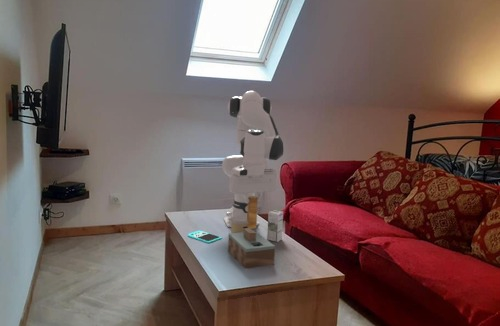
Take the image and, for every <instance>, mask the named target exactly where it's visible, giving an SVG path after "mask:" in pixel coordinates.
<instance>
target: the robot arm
mask: <svg viewBox="0 0 500 326" xmlns="http://www.w3.org/2000/svg"><path fill="white" fill-rule="evenodd" d="M272 108H273V107H272V103H271V100H270V98H268V97H263V96H262V97H261V95H260V94H259V93H258V92H257V91H255V90H249V91H246V92H244V93H243V95H242V96H232V97H231V98H230V99H229V101H228V103H227V110H228V114H229V116H230V117H232V118H238V120H237V128H236V129H237V130H236V134H237V135H236V145H237V146H238V147H239V148H240V150H239V154H240V155H236V154H235V155H229V156H225V157H224V159H223V160H222V163H221V168H222V171H223V172H224V174H225V175H227V176H228V177H229V181H228V191H229V192H230V193H231V194H233V195H234V199H233V201H232V207H230V208H229V209H228V211H227V212H226V216H225V217H223V222H224V223H225V224H226V226H227V228H231V219H232V217H234V216H246V217H247V207H248V203H250V199H249V198H248V196H255V195H256V193H257V196H255V197H257V198H258V200H257V204H258V203H260V201H261V198H262V196H263V194H264V193H265V192H266V193H267V192H269V193H270V192H276V191H277V180H276V179H277V171H276V170H274V169H273V168H270V161H277V160H279V159H280V158H282V156H283V154H284V151H285V145H284V141H283V139H282V138H281V135H280V134H279V131H278V129H277V126H276V123H275V121H274V118H273V117H272V115H271V112H272V110H273V109H272ZM265 132H266V134H265ZM266 135H267V136H266ZM258 225H260V221H258V220H257V222H256V227H257V226H258Z"/></svg>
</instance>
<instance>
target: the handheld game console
mask: <svg viewBox="0 0 500 326" xmlns="http://www.w3.org/2000/svg"><path fill="white" fill-rule="evenodd" d="M187 237H189V238H192V239H194V240H198V241H199V242H200V241H201V242H204V243H206V244H211V243H214V242H217V241H219V240H222V239H223V236H218V235H215V234H212V233H209V232H207V231H203V230H196V231H193V232H190V233H188V234H187Z"/></svg>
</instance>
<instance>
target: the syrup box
mask: <svg viewBox="0 0 500 326" xmlns="http://www.w3.org/2000/svg"><path fill="white" fill-rule="evenodd" d="M267 216H268V217H267V234H266V235H267V236H266V239H267V240H268V241H269V242H274V243H278V242H280V241H281V240H282V239H283V226H284V225H283V224H284V223H283V222H284V211H280V210H274V209H273V210H269V211H268V214H267Z"/></svg>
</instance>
